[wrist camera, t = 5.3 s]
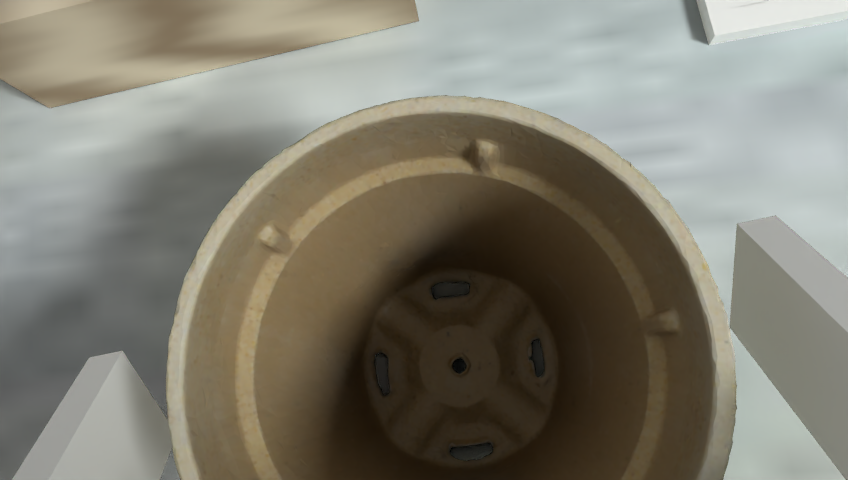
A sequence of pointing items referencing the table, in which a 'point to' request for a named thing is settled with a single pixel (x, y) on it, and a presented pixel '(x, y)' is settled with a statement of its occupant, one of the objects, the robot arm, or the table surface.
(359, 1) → the plinth
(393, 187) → the flower pot
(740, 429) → the table surface
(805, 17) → the building block set
